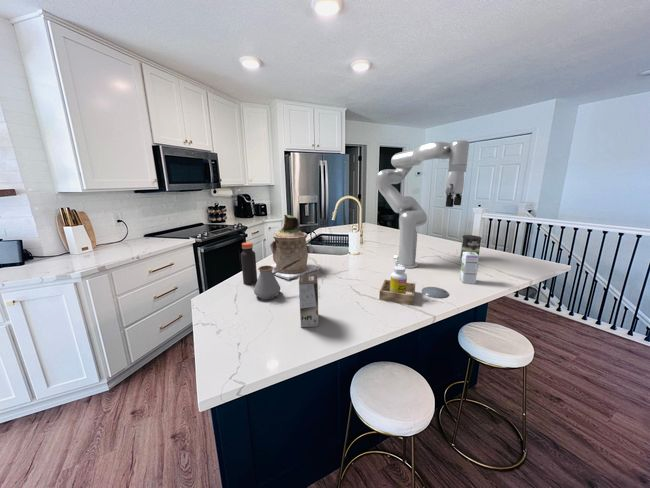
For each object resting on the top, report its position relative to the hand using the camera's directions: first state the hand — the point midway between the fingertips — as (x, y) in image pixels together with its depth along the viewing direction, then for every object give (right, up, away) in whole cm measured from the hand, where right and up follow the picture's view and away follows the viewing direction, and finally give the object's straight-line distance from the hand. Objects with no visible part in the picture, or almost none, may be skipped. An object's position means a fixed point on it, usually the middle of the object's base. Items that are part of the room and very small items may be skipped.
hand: (453, 206), depth 124 cm
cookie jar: (-81, -33, +21) cm, 90 cm away
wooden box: (-30, -41, -12) cm, 52 cm away
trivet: (-13, -40, -10) cm, 43 cm away
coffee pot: (-83, -41, -9) cm, 93 cm away
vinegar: (-99, -38, +4) cm, 106 cm away
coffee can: (+29, -28, +38) cm, 55 cm away
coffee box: (-68, -46, -31) cm, 88 cm away
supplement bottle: (-30, -41, -12) cm, 53 cm away
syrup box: (+8, -37, +2) cm, 38 cm away
